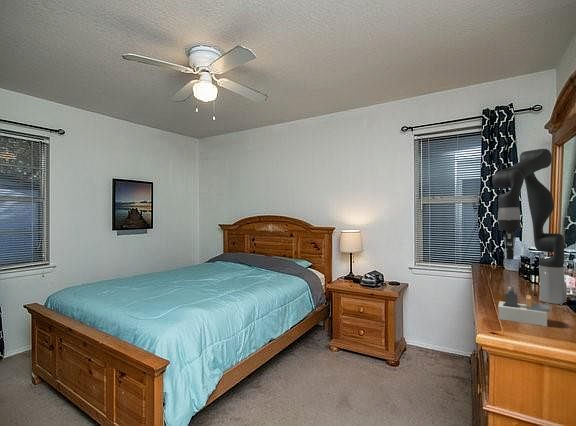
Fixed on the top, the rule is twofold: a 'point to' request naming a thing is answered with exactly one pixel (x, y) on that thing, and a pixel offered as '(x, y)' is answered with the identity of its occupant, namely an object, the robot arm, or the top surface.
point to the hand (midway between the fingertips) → (510, 258)
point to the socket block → (522, 314)
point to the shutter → (536, 305)
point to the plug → (511, 298)
